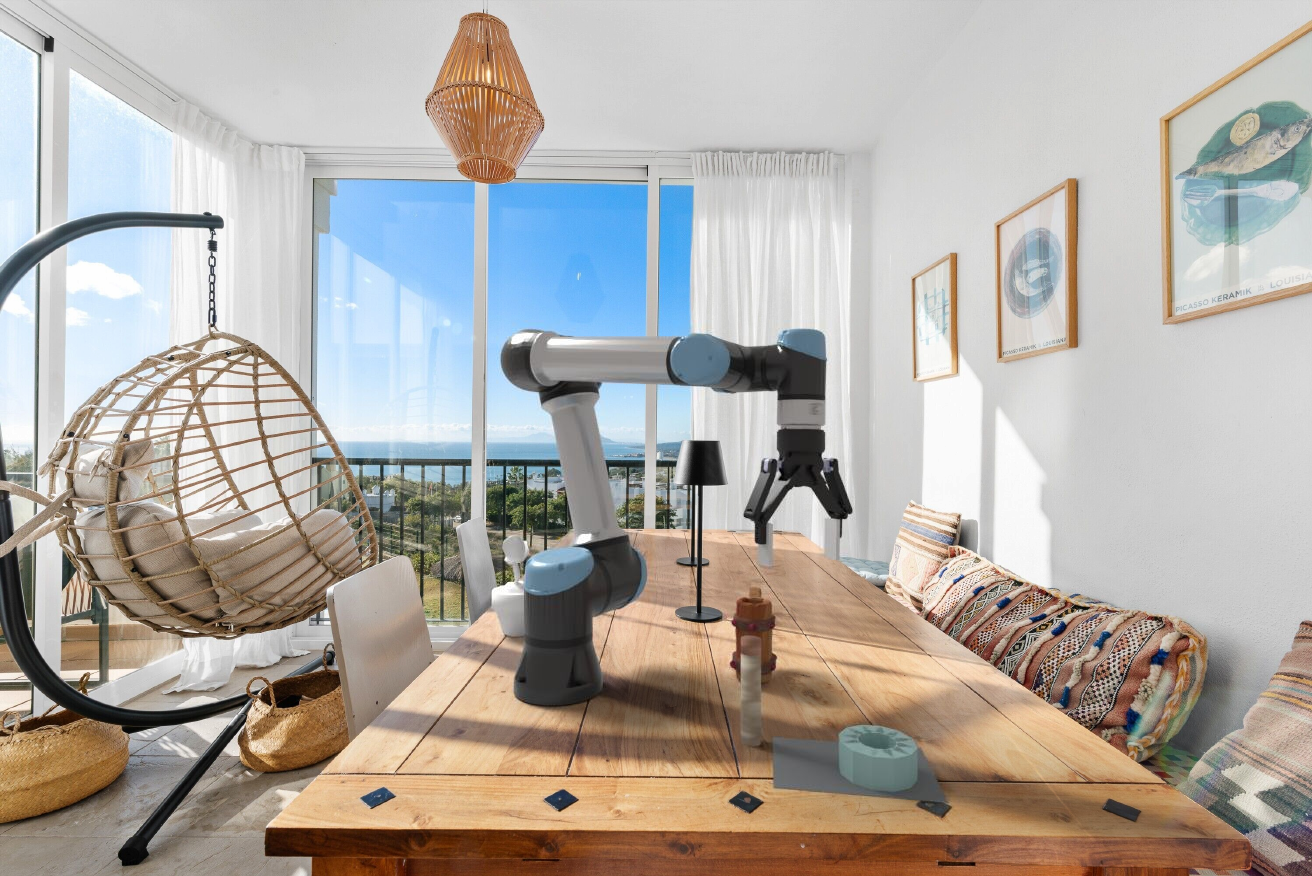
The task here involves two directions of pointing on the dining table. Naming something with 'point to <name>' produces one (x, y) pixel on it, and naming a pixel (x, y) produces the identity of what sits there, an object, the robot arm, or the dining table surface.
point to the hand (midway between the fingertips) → (799, 562)
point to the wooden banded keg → (755, 630)
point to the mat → (838, 772)
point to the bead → (878, 758)
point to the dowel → (751, 691)
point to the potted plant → (511, 590)
